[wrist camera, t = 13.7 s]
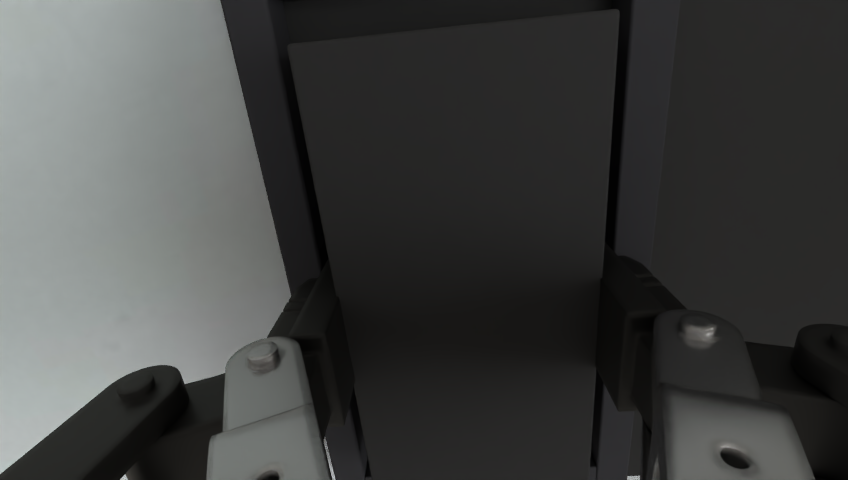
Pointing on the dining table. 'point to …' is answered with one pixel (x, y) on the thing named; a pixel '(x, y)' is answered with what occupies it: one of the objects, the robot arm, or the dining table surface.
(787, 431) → the robot arm
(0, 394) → the dining table surface
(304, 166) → the dock pad
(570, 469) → the strip pad
